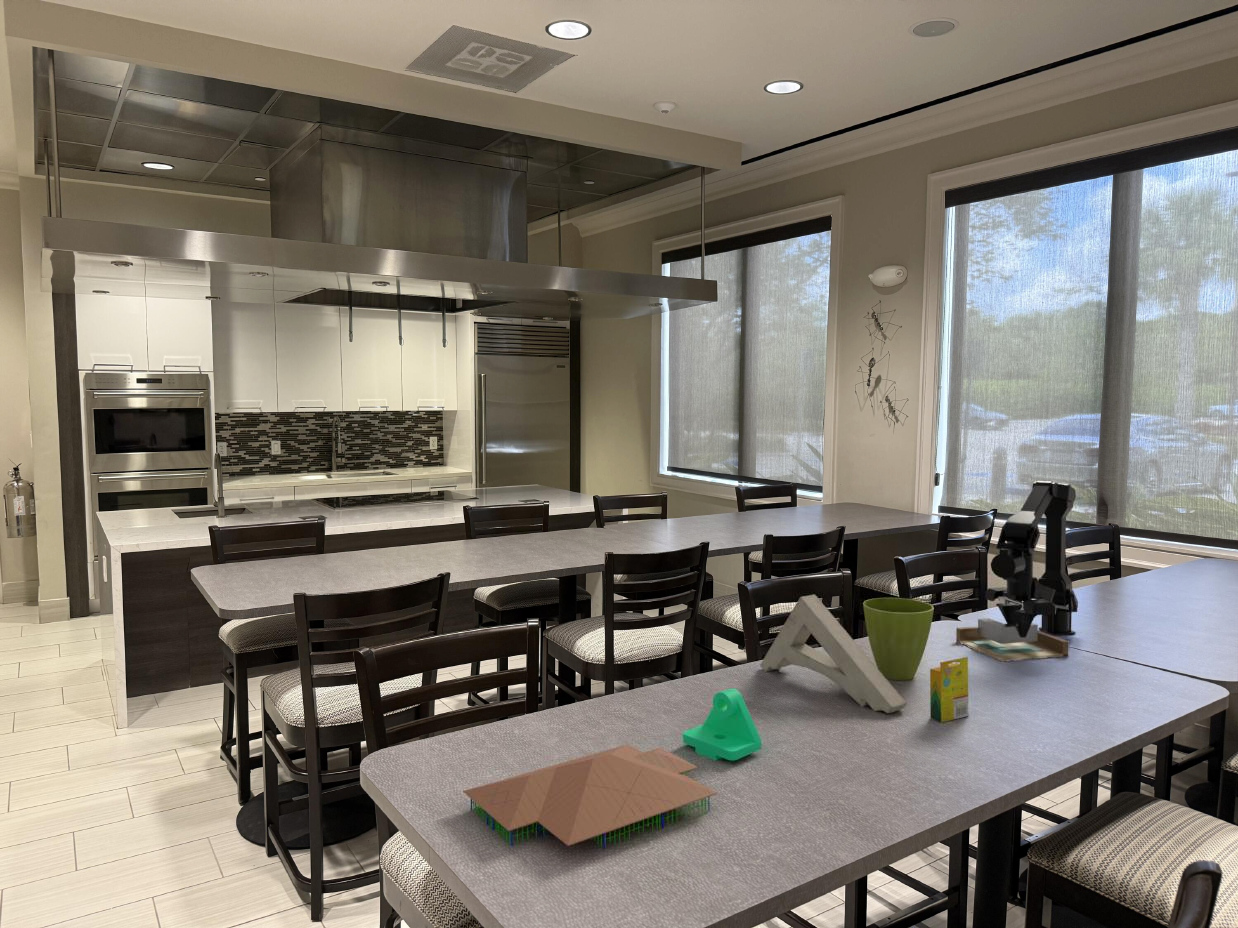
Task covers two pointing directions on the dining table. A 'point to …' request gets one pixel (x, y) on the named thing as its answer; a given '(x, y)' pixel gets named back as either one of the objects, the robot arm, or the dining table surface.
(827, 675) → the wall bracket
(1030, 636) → the angle bracket
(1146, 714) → the dining table surface
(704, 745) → the camera mount
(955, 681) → the crayon box
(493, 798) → the house
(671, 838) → the dining table surface
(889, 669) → the flower pot
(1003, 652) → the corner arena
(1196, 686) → the dining table surface
